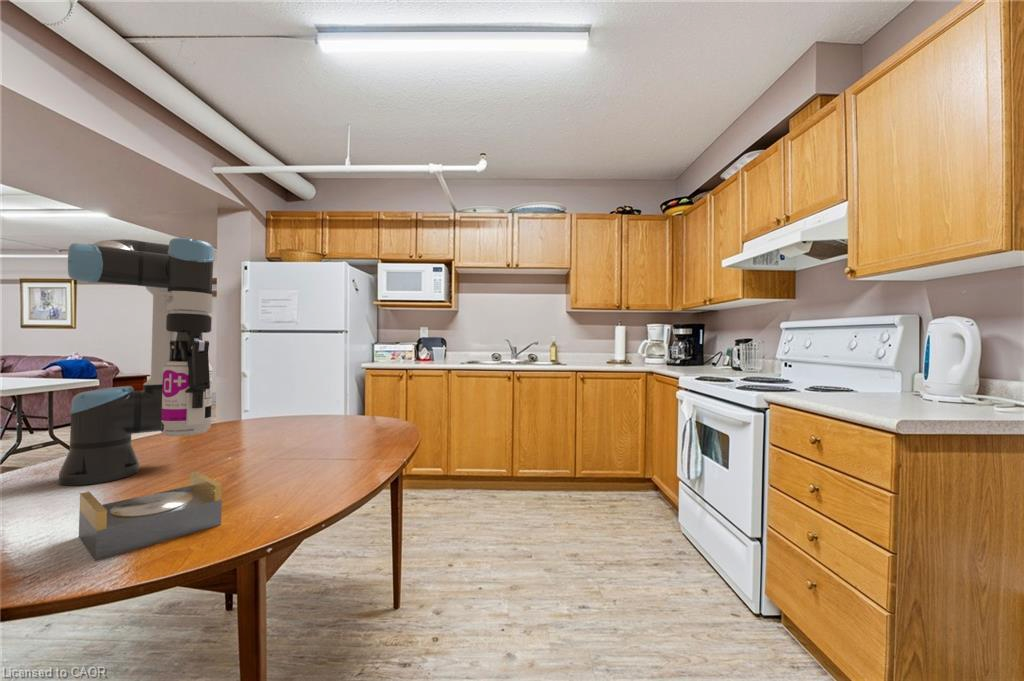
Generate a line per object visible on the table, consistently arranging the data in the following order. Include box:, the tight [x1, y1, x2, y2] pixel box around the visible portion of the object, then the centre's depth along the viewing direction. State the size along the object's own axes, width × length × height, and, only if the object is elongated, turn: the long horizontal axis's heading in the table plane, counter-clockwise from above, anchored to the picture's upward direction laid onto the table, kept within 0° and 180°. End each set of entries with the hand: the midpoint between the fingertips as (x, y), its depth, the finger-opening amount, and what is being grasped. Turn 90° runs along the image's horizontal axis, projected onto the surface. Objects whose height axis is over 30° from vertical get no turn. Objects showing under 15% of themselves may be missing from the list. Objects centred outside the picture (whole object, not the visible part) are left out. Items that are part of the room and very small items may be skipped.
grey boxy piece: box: [78, 470, 223, 562], centre depth 80 cm, size 14×18×8 cm
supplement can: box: [160, 361, 213, 437], centre depth 87 cm, size 8×8×15 cm
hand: (186, 421), depth 87 cm, fingers closed on supplement can, 8 cm apart
